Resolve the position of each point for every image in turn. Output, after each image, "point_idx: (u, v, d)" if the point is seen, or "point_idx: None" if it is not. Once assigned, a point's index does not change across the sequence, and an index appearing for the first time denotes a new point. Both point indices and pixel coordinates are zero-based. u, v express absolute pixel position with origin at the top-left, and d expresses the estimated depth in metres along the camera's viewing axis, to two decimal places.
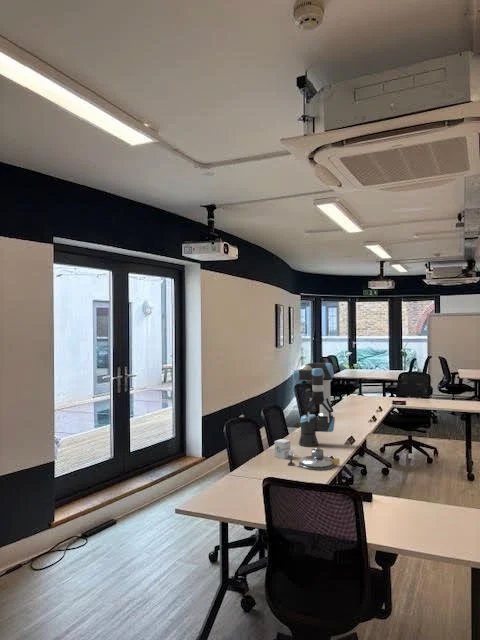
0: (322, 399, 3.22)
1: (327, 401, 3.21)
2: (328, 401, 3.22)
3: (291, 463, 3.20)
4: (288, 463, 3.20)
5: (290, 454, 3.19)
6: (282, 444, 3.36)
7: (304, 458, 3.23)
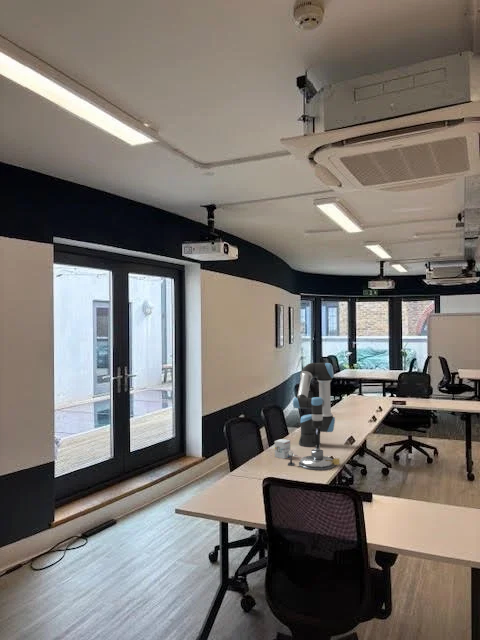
0: None
1: (315, 434, 3.24)
2: (317, 435, 3.23)
3: (291, 463, 3.20)
4: (288, 463, 3.20)
5: (290, 454, 3.19)
6: (282, 444, 3.36)
7: (304, 458, 3.23)
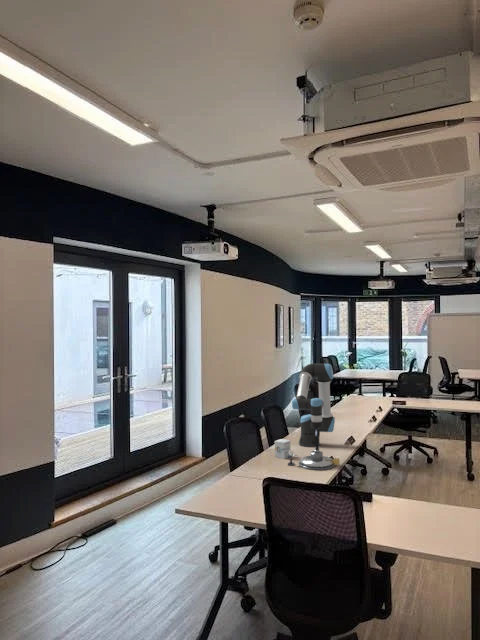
0: (314, 430, 3.21)
1: (314, 435, 3.19)
2: (316, 436, 3.19)
3: (291, 463, 3.20)
4: (288, 463, 3.20)
5: (290, 454, 3.19)
6: (282, 444, 3.36)
7: (304, 458, 3.23)
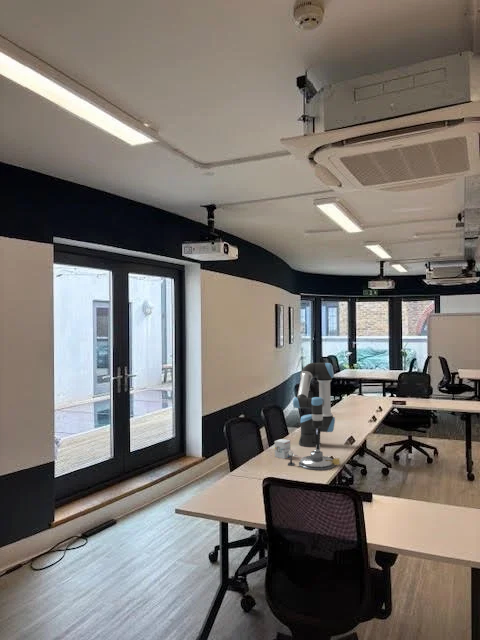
0: None
1: (315, 434, 3.24)
2: (317, 435, 3.24)
3: (291, 463, 3.20)
4: (288, 463, 3.20)
5: (290, 454, 3.19)
6: (282, 444, 3.36)
7: (304, 458, 3.23)
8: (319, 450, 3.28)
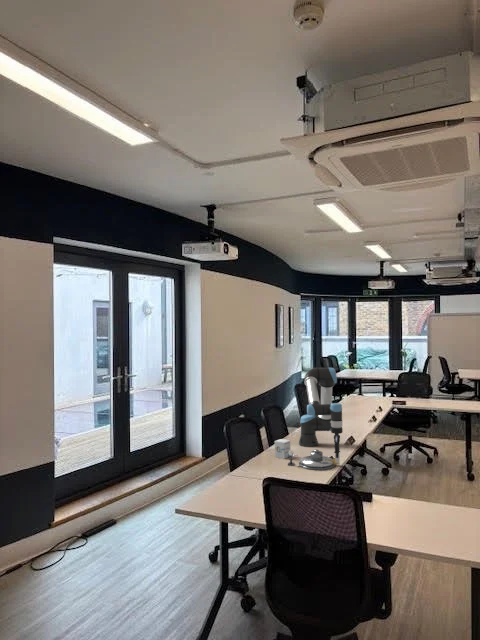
0: (334, 436, 3.12)
1: (334, 441, 3.10)
2: (336, 442, 3.10)
3: (291, 463, 3.20)
4: (288, 463, 3.20)
5: (290, 454, 3.19)
6: (282, 444, 3.36)
7: (304, 458, 3.22)
8: (338, 459, 3.14)
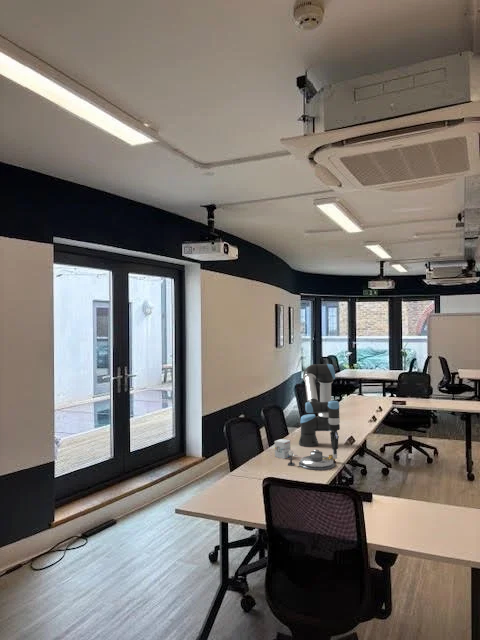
0: (334, 433, 3.20)
1: (334, 438, 3.18)
2: (336, 439, 3.18)
3: (291, 463, 3.20)
4: (288, 463, 3.20)
5: (290, 454, 3.19)
6: (282, 444, 3.36)
7: (304, 461, 3.17)
8: (336, 455, 3.22)
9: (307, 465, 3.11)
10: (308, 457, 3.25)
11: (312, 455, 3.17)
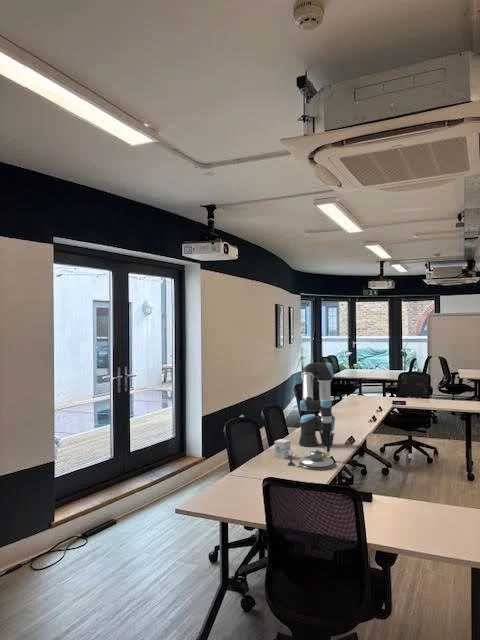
0: (328, 431, 3.26)
1: (330, 436, 3.25)
2: (332, 436, 3.25)
3: (291, 463, 3.20)
4: (288, 463, 3.20)
5: (290, 454, 3.19)
6: (282, 444, 3.36)
7: (308, 462, 3.13)
8: (328, 452, 3.29)
9: (316, 466, 3.08)
10: (305, 458, 3.22)
11: (315, 456, 3.15)
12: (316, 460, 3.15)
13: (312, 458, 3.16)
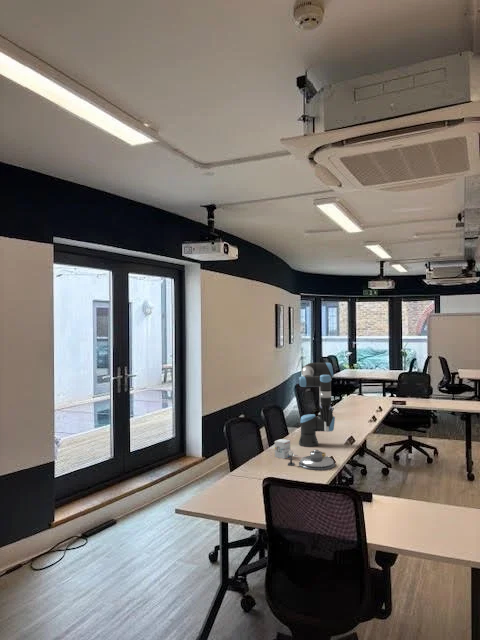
0: (328, 405, 3.27)
1: (329, 410, 3.25)
2: (331, 411, 3.26)
3: (291, 463, 3.20)
4: (288, 463, 3.20)
5: (290, 454, 3.19)
6: (282, 444, 3.36)
7: (309, 462, 3.12)
8: (328, 427, 3.30)
9: (316, 466, 3.08)
10: (305, 459, 3.22)
11: (315, 456, 3.15)
12: (316, 460, 3.15)
13: (312, 458, 3.16)
